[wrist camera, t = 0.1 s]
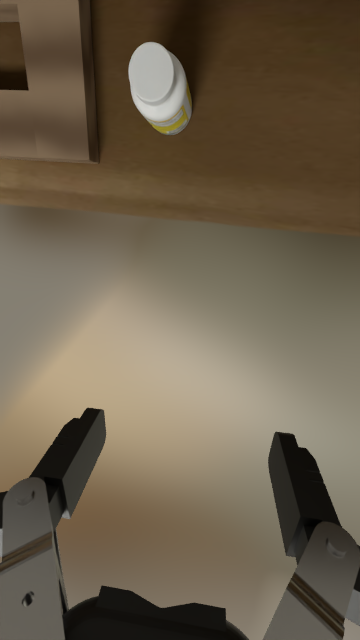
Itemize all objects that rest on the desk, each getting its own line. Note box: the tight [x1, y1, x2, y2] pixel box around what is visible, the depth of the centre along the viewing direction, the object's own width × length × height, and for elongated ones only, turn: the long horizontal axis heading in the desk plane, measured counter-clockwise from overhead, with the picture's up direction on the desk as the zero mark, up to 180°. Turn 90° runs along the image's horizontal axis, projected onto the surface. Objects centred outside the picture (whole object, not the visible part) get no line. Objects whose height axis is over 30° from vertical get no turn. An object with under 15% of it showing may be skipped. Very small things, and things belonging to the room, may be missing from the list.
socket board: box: [0, 0, 99, 164], centre depth 30 cm, size 20×20×3 cm
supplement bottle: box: [129, 42, 192, 135], centre depth 27 cm, size 5×5×10 cm
